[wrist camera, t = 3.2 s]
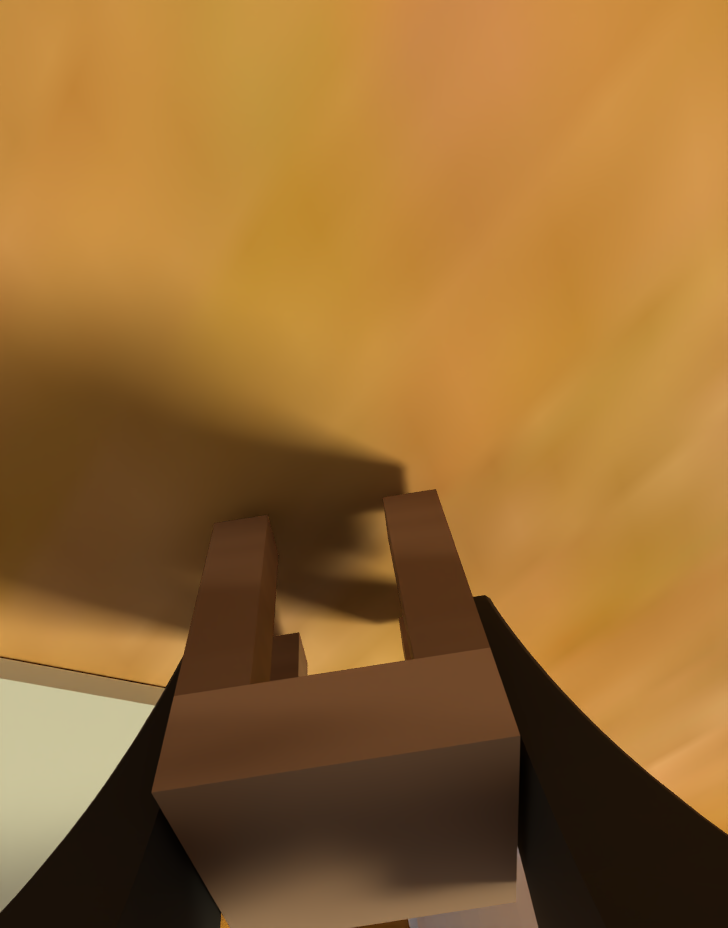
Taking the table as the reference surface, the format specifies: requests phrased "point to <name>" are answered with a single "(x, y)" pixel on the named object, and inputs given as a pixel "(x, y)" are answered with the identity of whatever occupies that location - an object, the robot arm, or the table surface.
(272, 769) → the stool
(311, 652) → the table surface
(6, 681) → the mat
